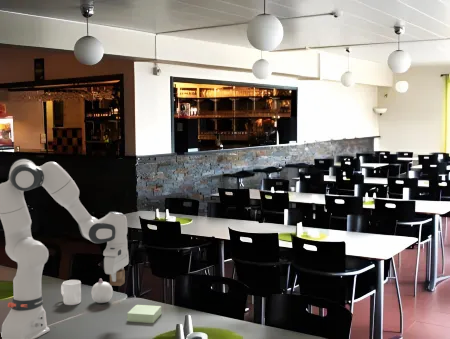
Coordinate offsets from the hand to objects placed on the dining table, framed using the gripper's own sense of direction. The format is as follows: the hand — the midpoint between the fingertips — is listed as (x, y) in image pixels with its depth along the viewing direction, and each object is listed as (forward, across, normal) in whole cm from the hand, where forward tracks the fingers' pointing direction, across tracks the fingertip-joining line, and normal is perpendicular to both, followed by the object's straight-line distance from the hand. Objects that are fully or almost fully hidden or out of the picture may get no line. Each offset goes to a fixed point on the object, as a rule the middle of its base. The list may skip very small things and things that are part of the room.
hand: (117, 279), depth 246 cm
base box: (+18, -4, +11) cm, 22 cm away
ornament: (+18, -20, -16) cm, 31 cm away
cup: (+18, -18, -32) cm, 41 cm away
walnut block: (+2, 0, 0) cm, 2 cm away
